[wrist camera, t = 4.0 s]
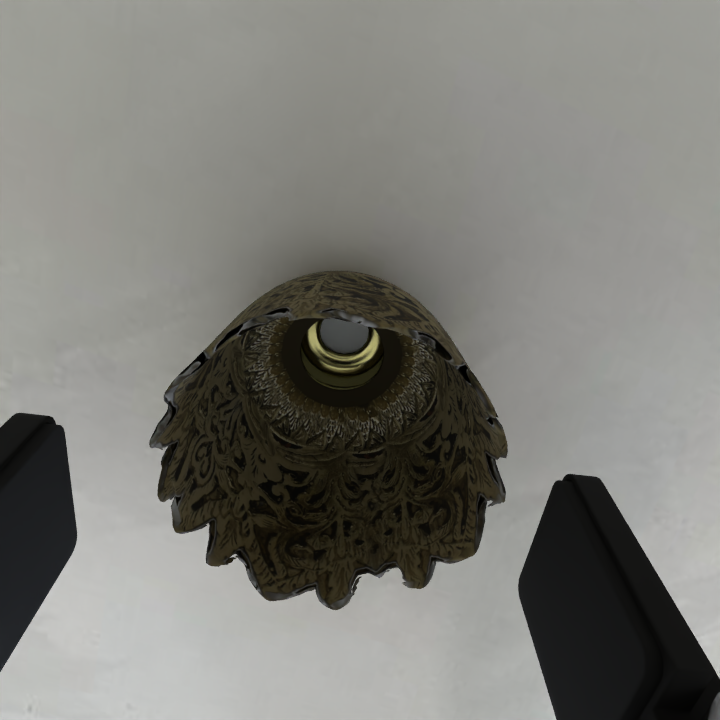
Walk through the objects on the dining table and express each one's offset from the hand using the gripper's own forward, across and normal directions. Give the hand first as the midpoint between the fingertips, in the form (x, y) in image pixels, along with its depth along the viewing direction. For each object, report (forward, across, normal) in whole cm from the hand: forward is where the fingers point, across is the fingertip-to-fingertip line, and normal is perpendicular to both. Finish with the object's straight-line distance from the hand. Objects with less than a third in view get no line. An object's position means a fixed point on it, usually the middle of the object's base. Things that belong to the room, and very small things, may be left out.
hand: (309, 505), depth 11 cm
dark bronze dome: (+9, 0, 0) cm, 9 cm away
